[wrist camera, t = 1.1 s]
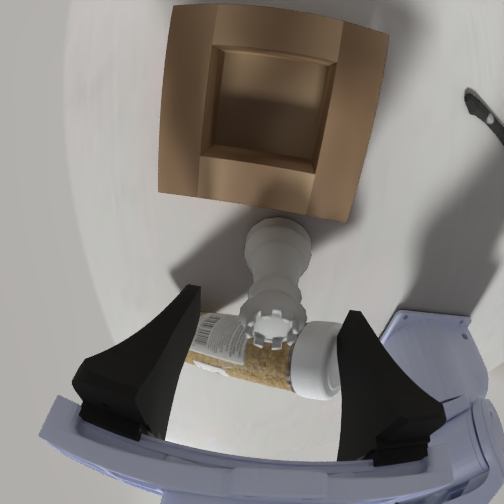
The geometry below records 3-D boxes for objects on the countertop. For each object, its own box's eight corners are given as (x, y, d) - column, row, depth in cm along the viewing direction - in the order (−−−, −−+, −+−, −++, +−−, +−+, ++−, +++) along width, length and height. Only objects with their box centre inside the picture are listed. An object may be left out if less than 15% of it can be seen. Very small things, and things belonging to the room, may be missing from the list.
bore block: (368, 44, 12) (389, 35, 9) (336, 198, 17) (346, 223, 14) (194, 19, 12) (173, 5, 9) (179, 172, 17) (158, 192, 14)
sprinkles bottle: (175, 370, 22) (329, 416, 14) (150, 327, 20) (316, 364, 12) (209, 338, 25) (355, 361, 17) (189, 296, 24) (346, 306, 15)
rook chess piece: (324, 244, 19) (340, 334, 12) (278, 280, 21) (271, 371, 14) (278, 200, 18) (271, 278, 11) (232, 243, 20) (204, 329, 13)
